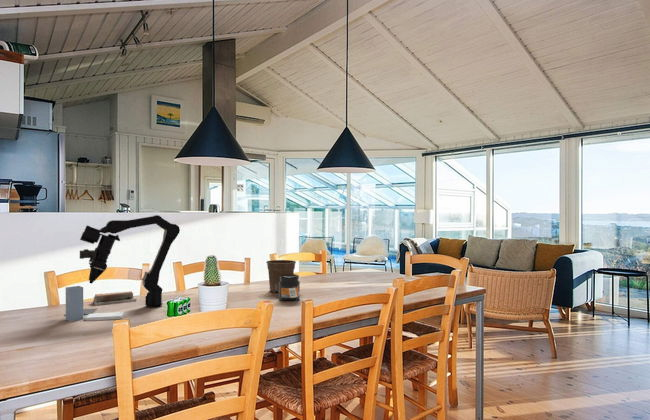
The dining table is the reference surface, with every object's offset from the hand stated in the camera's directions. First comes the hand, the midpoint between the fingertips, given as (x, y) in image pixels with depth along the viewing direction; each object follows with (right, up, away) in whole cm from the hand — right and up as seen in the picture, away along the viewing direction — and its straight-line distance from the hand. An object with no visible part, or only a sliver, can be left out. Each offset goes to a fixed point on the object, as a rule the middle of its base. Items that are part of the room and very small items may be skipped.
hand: (90, 281), depth 193 cm
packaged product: (0, -14, +22) cm, 26 cm away
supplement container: (+84, -14, +28) cm, 90 cm away
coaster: (-4, -13, 0) cm, 14 cm away
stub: (0, -13, -12) cm, 18 cm away
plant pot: (+78, -13, +51) cm, 94 cm away
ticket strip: (+11, -13, -9) cm, 20 cm away
